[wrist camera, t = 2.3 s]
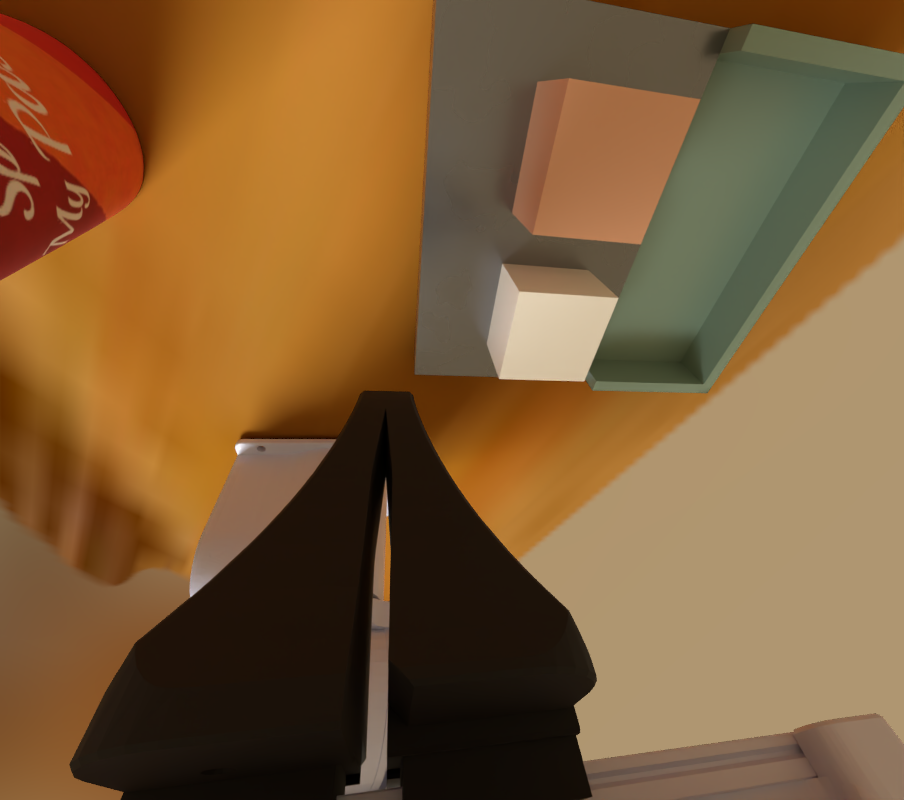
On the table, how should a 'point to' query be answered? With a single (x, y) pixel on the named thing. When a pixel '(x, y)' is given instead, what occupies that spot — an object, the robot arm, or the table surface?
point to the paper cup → (57, 147)
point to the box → (744, 201)
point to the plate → (520, 148)
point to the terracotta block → (598, 159)
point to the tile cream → (547, 322)
